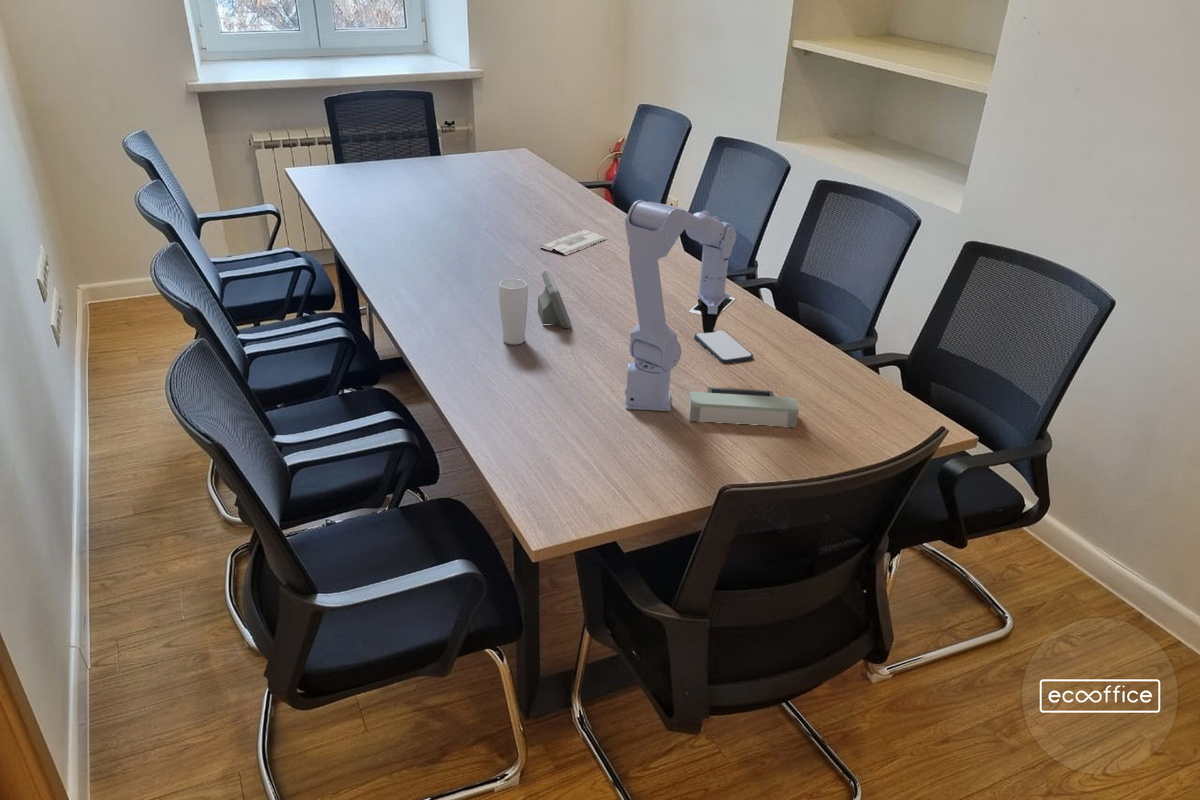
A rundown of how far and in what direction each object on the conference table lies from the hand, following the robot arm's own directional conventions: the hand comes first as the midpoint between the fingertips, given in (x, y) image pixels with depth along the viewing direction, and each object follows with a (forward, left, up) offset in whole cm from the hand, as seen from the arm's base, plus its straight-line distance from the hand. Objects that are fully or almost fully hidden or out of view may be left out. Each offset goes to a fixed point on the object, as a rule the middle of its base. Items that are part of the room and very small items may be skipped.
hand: (707, 331), depth 198 cm
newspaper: (-39, +86, -11) cm, 95 cm away
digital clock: (-37, +26, -10) cm, 47 cm away
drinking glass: (-46, +10, -10) cm, 48 cm away
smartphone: (+5, +13, -11) cm, 17 cm away
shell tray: (+7, -18, -10) cm, 21 cm away
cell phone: (+4, +40, -10) cm, 42 cm away
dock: (+7, -21, -10) cm, 24 cm away
